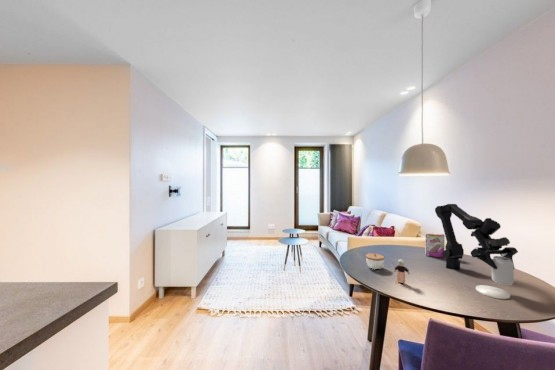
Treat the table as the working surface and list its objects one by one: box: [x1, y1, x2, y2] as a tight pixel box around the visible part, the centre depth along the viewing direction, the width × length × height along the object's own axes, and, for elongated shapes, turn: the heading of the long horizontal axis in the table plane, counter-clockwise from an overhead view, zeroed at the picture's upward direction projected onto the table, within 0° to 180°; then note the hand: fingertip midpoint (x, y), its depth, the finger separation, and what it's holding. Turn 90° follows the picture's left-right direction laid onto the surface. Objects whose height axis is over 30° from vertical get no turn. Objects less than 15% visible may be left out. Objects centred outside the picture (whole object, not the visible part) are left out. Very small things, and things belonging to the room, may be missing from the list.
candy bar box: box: [424, 232, 445, 259], centre depth 164 cm, size 11×5×16 cm, turn 65°
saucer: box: [475, 284, 511, 300], centre depth 109 cm, size 12×12×1 cm
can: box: [491, 255, 515, 286], centre depth 109 cm, size 8×8×12 cm
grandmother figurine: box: [393, 259, 411, 285], centre depth 122 cm, size 8×4×13 cm, turn 66°
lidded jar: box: [365, 252, 385, 270], centre depth 143 cm, size 11×11×9 cm
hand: (504, 268), depth 107 cm, fingers closed on can, 7 cm apart
